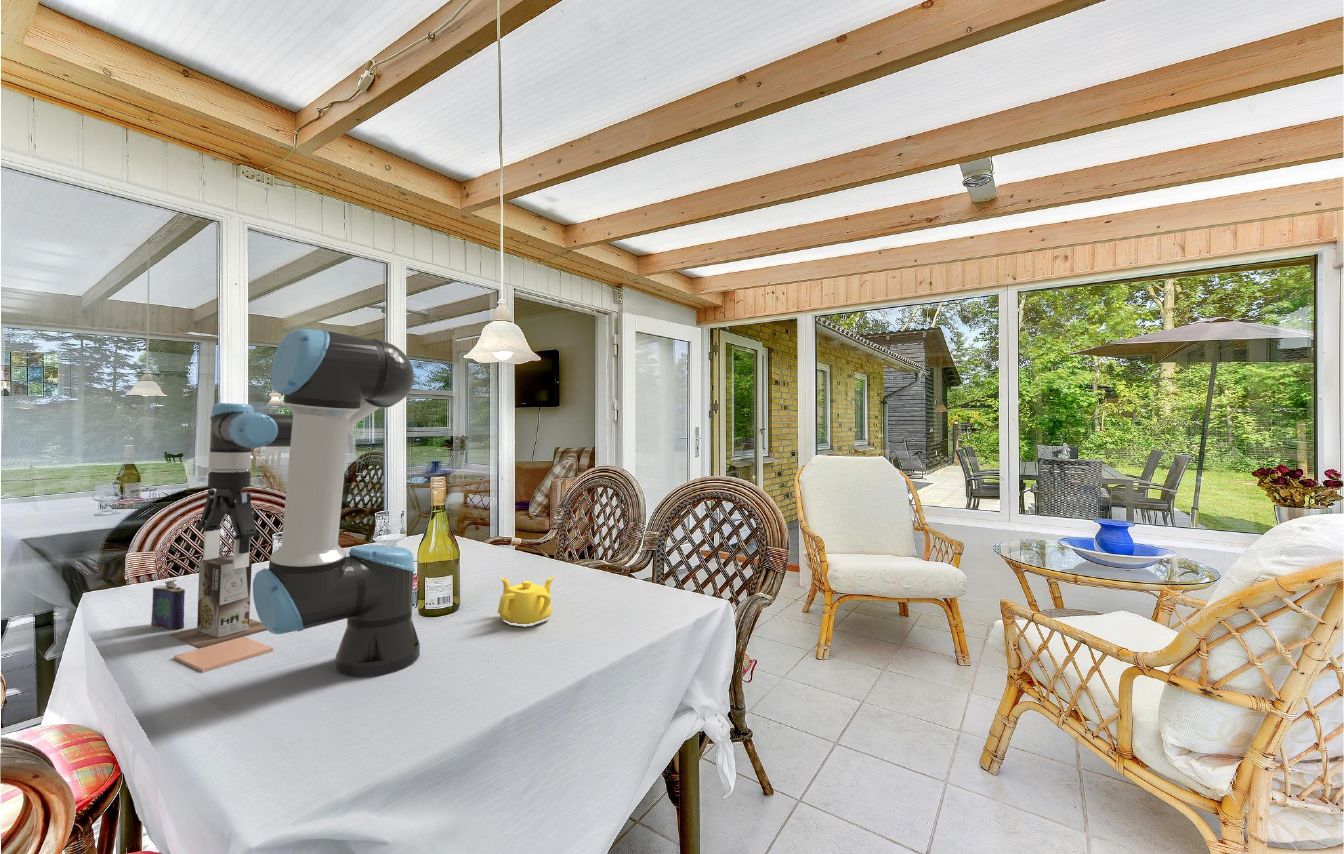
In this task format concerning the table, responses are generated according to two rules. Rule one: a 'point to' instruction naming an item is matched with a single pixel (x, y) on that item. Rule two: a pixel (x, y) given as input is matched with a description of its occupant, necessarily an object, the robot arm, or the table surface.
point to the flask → (168, 606)
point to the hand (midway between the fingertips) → (225, 563)
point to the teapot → (525, 602)
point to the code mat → (206, 640)
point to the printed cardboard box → (223, 597)
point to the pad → (223, 653)
